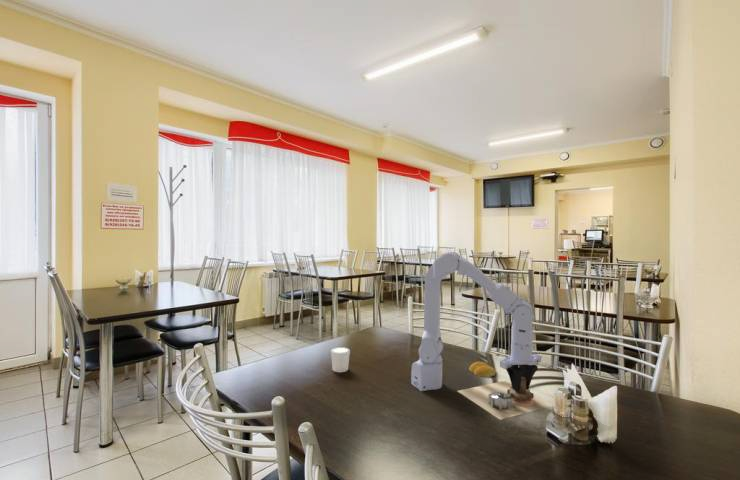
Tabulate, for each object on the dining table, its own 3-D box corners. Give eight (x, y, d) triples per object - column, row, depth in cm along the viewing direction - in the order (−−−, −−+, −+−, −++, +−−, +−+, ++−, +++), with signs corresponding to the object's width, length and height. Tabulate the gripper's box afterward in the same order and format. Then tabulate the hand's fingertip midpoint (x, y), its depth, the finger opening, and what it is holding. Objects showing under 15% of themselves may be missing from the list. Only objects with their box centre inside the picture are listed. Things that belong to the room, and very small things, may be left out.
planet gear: (521, 403, 98) (521, 385, 98) (502, 392, 105) (502, 375, 105) (538, 398, 101) (539, 380, 101) (519, 388, 108) (519, 372, 108)
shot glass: (348, 373, 123) (349, 353, 123) (329, 372, 124) (329, 353, 123) (350, 365, 130) (350, 347, 130) (331, 365, 130) (332, 346, 130)
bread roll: (479, 381, 119) (480, 369, 119) (465, 371, 127) (466, 360, 127) (501, 379, 121) (501, 367, 121) (485, 369, 130) (486, 358, 130)
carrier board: (500, 423, 92) (500, 419, 92) (456, 394, 109) (456, 390, 109) (553, 408, 100) (553, 405, 100) (505, 383, 117) (505, 380, 117)
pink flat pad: (520, 408, 98) (520, 407, 98) (500, 396, 105) (500, 395, 105) (540, 403, 101) (540, 402, 101) (519, 392, 108) (519, 391, 108)
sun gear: (500, 412, 96) (500, 401, 96) (483, 401, 102) (483, 391, 102) (518, 408, 98) (518, 397, 98) (500, 397, 104) (501, 387, 104)
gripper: (513, 350, 96) (512, 399, 96) (551, 344, 102) (549, 390, 102) (494, 342, 103) (493, 388, 103) (531, 337, 108) (529, 381, 109)
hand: (520, 389), depth 103 cm, fingers closed on planet gear, 3 cm apart
